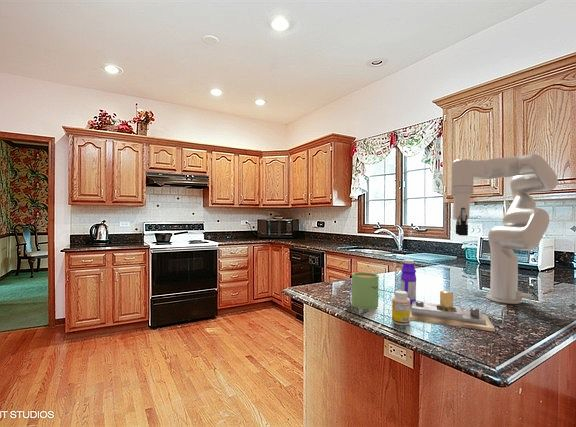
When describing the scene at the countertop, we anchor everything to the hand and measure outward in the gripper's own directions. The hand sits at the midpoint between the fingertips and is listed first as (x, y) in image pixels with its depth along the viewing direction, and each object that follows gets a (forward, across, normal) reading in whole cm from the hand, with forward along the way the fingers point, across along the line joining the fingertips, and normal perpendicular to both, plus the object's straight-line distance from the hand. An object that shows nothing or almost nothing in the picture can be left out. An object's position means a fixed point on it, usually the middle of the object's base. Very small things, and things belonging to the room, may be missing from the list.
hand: (461, 234), depth 120 cm
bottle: (+28, +3, -19) cm, 34 cm away
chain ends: (+28, +18, -6) cm, 34 cm away
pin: (+27, +18, -6) cm, 33 cm away
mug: (+28, +14, -34) cm, 47 cm away
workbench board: (+28, +18, -6) cm, 34 cm away
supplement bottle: (+28, +30, -20) cm, 46 cm away
